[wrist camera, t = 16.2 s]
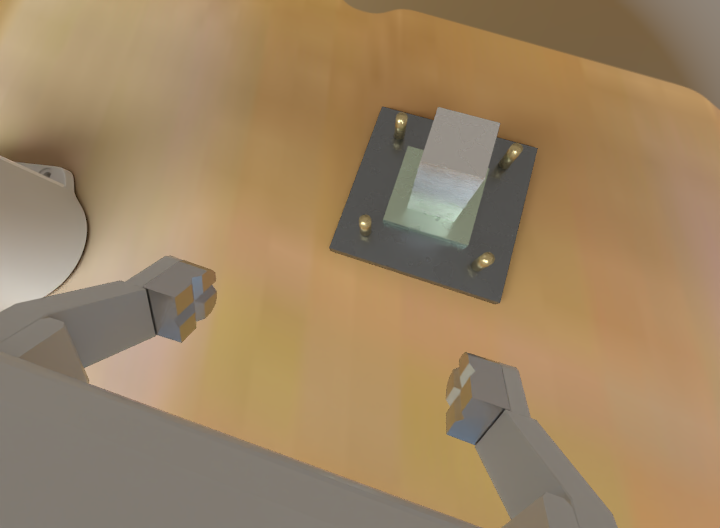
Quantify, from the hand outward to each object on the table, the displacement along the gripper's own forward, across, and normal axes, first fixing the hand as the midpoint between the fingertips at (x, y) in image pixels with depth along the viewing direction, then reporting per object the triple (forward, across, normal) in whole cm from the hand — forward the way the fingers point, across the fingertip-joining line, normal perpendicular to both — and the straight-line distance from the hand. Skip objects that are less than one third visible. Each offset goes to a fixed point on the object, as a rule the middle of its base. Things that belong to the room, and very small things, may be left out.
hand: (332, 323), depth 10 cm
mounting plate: (+27, -4, +5) cm, 28 cm away
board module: (+27, -4, +4) cm, 27 cm away
